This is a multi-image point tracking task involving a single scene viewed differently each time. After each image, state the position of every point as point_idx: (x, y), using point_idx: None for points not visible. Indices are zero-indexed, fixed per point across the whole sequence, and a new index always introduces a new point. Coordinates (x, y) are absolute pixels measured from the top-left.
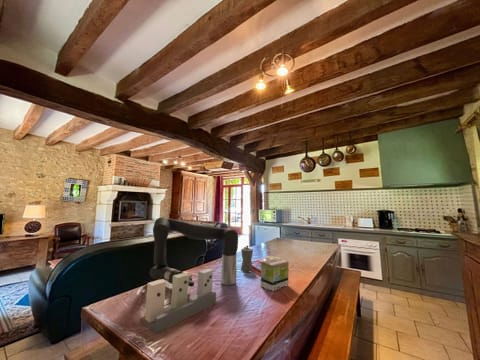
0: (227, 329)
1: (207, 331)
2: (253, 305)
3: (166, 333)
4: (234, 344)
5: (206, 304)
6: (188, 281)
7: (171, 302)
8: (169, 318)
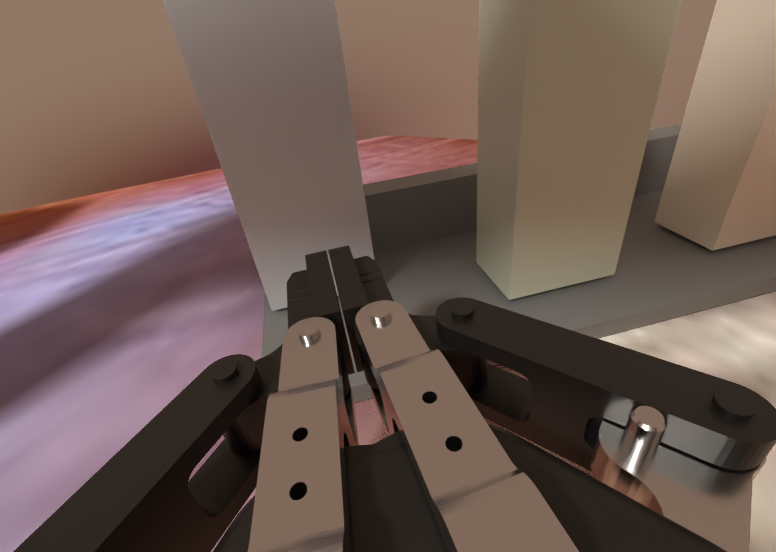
0: (376, 169)
1: None
2: (163, 219)
3: None
4: (398, 147)
5: None
6: (364, 292)
7: (621, 232)
8: None
